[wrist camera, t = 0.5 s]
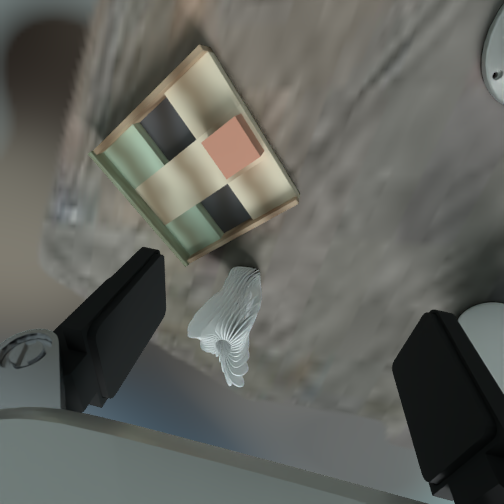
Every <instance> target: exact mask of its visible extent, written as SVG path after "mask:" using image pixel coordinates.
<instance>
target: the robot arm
mask: <svg viewBox="0 0 504 504" xmlns="http://www.w3.org/2000/svg"><path fill="white" fill-rule="evenodd" d="M494 72H495V73H496V75H495V77H493V78H492V75H493V73H494ZM482 75H483V79H484V83H485V85H486V87H487V89H488V91H489V93H490V94H491V95H492V96H493V97H494V98H495V99H496V100H497V101H498V102H499V103H501V104H503V105H504V4H503V5H502V7H501V8H500V9H499V11H498V13H497V15H496V17H495V18H494V20H493V22H492V24H491V26H490V28H489V31H488V34H487V37H486V40H485V43H484V47H483V53H482ZM165 312H166V293H165V265H164V256H163V255H160V251H159V250H156V249H151V248H147V247H142V248H141V249H140V250H139V251H137V252H136V253H135V254H134V255H133V256H132V257H131V258H130V259H129V260H128V261H127V262H126V263H125V264H124V265H123V266H122V267H121V268H120V269H119V270H118V271H117V272H116V273H115V274H114V275H113V276H112V277H110V278H109V279H107V280H106V281H105V282H104V283H103V284H102V285H101V286H100V287H99V288H98V289H97V290H96V291H95V292H94V293H93V294H91V295H90V296H89V297H88V298H87V299H86V300H85V301H84V302H83V303H82V304H81V305H80V306H79V307H78V308H77V309H76V310H75V311H74V312H73V313H72V314H71V315H70V316H69V317H68V318H67V319H66V320H65V321H64V322H63V323H61V324H60V325H59V326H58V327H57V328H56V329H55V330H54V331H53V332H52V331H49V330H46V329H33V330H27V331H24V332H21V333H18V334H16V335H14V336H12V337H10V338H8V339H7V340H5V341H4V342H3V343H1V344H0V504H427V503H423V502H420V501H416V500H412V499H409V498H405V497H401V496H398V495H394V494H390V493H387V492H383V491H379V490H376V489H372V488H368V487H364V486H361V485H358V484H354V483H350V482H346V481H343V480H339V479H335V478H332V477H328V476H324V475H321V474H317V473H313V472H309V471H306V470H302V469H298V468H295V467H291V466H287V465H284V464H280V463H276V462H272V461H269V460H265V459H261V458H257V457H253V456H250V455H246V454H242V453H239V452H235V451H231V450H227V449H224V448H220V447H216V446H212V445H208V444H205V443H200V442H197V441H193V440H189V439H185V438H182V437H178V436H174V435H170V434H166V433H163V432H159V431H155V430H151V429H147V428H144V427H140V426H136V425H131V424H127V423H123V422H119V421H115V420H111V419H106V418H103V417H98V416H94V415H90V414H85V413H82V412H84V410H85V409H86V408H87V406H88V405H89V404H90V405H93V406H97V407H101V408H102V407H103V405H104V403H105V402H106V400H107V399H108V398H110V399H111V398H113V397H114V396H115V394H116V393H117V391H118V390H119V388H120V387H121V385H122V383H123V381H124V380H125V379H126V377H127V375H128V374H129V372H130V371H131V369H132V367H133V366H134V364H135V362H136V361H137V359H138V357H139V356H140V355H141V353H142V351H143V350H144V348H145V347H146V345H147V343H148V342H149V340H150V339H151V337H152V335H153V334H154V332H155V331H156V329H157V327H158V326H159V324H160V323H161V321H162V319H163V318H164V315H165ZM392 371H393V375H394V379H395V382H396V385H397V389H398V392H399V396H400V399H401V403H402V406H403V410H404V413H405V417H406V420H407V424H408V427H409V431H410V434H411V438H412V441H413V445H414V448H415V452H416V455H417V459H418V462H419V466H420V469H421V473H422V475H423V477H424V479H425V480H426V481H427V482H429V485H430V488H431V492H432V495H433V496H436V497H439V498H443V499H447V500H451V501H453V500H454V502H455V504H504V394H503V392H502V391H501V389H500V387H499V386H498V384H497V383H496V381H495V379H494V378H493V376H492V375H491V373H490V371H489V370H488V368H487V367H486V365H485V363H484V362H483V360H482V359H481V357H480V355H479V354H478V352H477V351H476V349H475V347H474V346H473V344H472V343H471V341H470V339H469V338H468V336H467V335H466V333H465V331H464V330H463V328H462V327H461V325H460V323H459V322H458V320H457V319H456V317H455V316H454V315H453V314H451V313H448V312H443V311H438V310H431V311H430V312H429V313H424V315H423V316H422V317H421V319H420V321H419V322H418V324H417V325H416V327H415V329H414V330H413V332H412V333H411V335H410V336H409V338H408V340H407V341H406V343H405V344H404V346H403V348H402V349H401V351H400V352H399V354H398V355H397V357H396V359H395V360H394V362H393V366H392Z"/></svg>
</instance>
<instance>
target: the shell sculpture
mask: <svg viewBox="0 0 504 504" xmlns="http://www.w3.org/2000/svg"><path fill="white" fill-rule="evenodd" d="M255 270H256V268H255V269H253V268H250V267H242V266H241V267H239V266H237V267H233V268H232V269H231V270H230V272H229V275H228V277H227V278H226V280H225V283H224V286H223V287H222V289H221V290H220V291H218V292H217V293H216V294H215V295H214V296H212V297H211V298H210V299H209V300H208V301H207V302H206V303H205V304H204V305H203V306H202V308H201V309H199V310H198V311H197V313H196V314H195V315H194V317H193V320H192V321H191V322H190V323H189V325H188V337H190V338H198V339H199V340H200V346H201V348H202V350H204V351H205V352H211V353H212V354H215V353H216V357H218V355H219V352H220V357H219V362H220V360H221V366H222V372H224V374H225V378H226V381H227V383H228V385H229V386H231V385H232V383H233V384H234V385H235V386H237V387H242V386H243V385H244V379H243V376H242V375H244V374H245V373H247V371H248V369H249V368H248V364H247V362H246V361H247V360H248V359H249V351H248V348H249V332H250V330H251V328H252V326H253V324H254V322H255V320H256V317H257V313H258V312H259V311H260V305H261V300H262V289H261V282H260V281H261V277H260V276H261V275H258V274H260V273H256V272H257V271H259V270H257V271H255ZM254 271H255V272H254ZM253 272H254V273H256V274H254V273H253ZM250 274H251V275H252V274H253V275H252V276H251V275H250ZM249 275H250V276H251V277H252V278H251V277H250V276H249ZM249 277H250V278H249ZM248 279H249V280H248ZM247 280H248V281H247ZM246 282H247V283H246ZM250 295H251V296H250ZM245 311H246V312H245ZM245 315H246V319H245V320H244V316H245ZM242 321H243V322H242ZM223 341H224V343H223ZM222 345H223V348H222ZM221 350H222V354H221Z"/></svg>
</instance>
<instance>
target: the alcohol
mask: <svg viewBox="0 0 504 504" xmlns="http://www.w3.org/2000/svg"><path fill="white" fill-rule="evenodd" d="M458 322H459V323H460V325H461V327H462V328H463V330H464V331H465V333H466V335H467V336H468V338H469V339H470V341H471V343H472V344H473V346H474V347H475V349H476V351H477V352H478V354H479V355H480V357H481V359H482V360H483V362H484V363H485V365H486V367H487V368H488V370H489V371H490V373H491V375H492V376H493V378H494V379H495V381H496V383H497V384H498V386H499V387H500V389H501V391H502V392H503V394H504V304H503V303H497V302H488V303H482V304H478V305H475V306H473V307H471V308H469V309H467V310H466V311H464V312H463V313H462V314H461V315H460V317H459V318H458Z"/></svg>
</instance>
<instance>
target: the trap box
mask: <svg viewBox="0 0 504 504" xmlns="http://www.w3.org/2000/svg"><path fill="white" fill-rule="evenodd" d="M239 114H242V116H243V117H244V119H245V121H246V122H247V124H248V125H249V127H250V129H251V130H252V132H253V133H254V135H255V137H256V138H257V140H258V141H259V143H260V145H261V146H262V148H263V149H264V152H263V154H262V155H261V157H259V158H258V159H256V160H255V161H253V162H252V163H250V164H249V165H247V166H246V167H244V168H243V169H241V170H240V171H239V172H237V173H236V174H234V175H233V176H231V177H230V178H228V179H226V178H225V176H224V175H223V174H222V172H221V171H220V169H219V168H218V166H217V165H216V164H215V162H214V161H213V159H212V158H211V157H210V155H209V154H208V152H207V151H206V149H205V148H204V147H203V145H202V144H201V142H203V141H204V140H205V139H207V138H208V137H209V136H210V135H212V134H213V133H214V132H215V131H217V130H218V129H219V128H220V127H222V126H223V125H224V124H226V123H227V122H228V121H229V120H231V119H232V118H233V117H234V116H236V115H239ZM88 155H89V156H90V157H91V158H92V159H93V161H94V162H95V163H96V164H97V165H98V166H99V168H100V169H101V170H102V171H103V172H104V173H105V175H106V176H107V177H108V178H109V179H110V180H111V181H112V183H113V184H114V185H115V186H116V187H117V188H118V190H119V191H120V192H121V193H122V194H123V195H124V196H125V198H126V199H127V200H128V201H129V202H130V203H131V205H132V206H133V207H134V208H135V209H136V210H137V211H138V213H139V214H140V215H141V216H142V217H143V218H144V220H145V221H146V222H147V223H148V224H149V225H150V227H151V228H152V229H153V230H154V231H155V232H156V233H157V235H158V236H159V237H160V238H161V239H162V240H163V242H164V243H165V244H166V245H167V246H168V247H169V248H170V250H171V251H172V252H173V253H174V254H175V255H176V257H177V258H178V259H179V260H180V261H181V262H182V263H183V265H184V266H185V267H186V266H188V265H189V263H191V262H193V261H195V260H197V259H199V258H200V257H202V256H204V255H206V254H208V253H209V252H211V251H213V250H215V249H217V248H219V247H220V246H222V245H224V244H226V243H228V242H229V241H231V240H233V239H235V238H237V237H239V236H240V235H242V234H244V233H246V232H248V231H250V230H251V229H253V228H255V227H257V226H259V225H260V224H262V223H264V222H266V221H268V220H270V219H271V218H273V217H275V216H277V215H279V214H280V213H282V212H284V211H286V210H288V209H290V208H291V207H293V206H295V205H297V204H299V197H300V194H299V192H298V190H297V189H296V187H295V185H294V184H293V182H292V180H291V179H290V177H289V176H288V174H287V172H286V171H285V169H284V167H283V166H282V164H281V162H280V161H279V159H278V158H277V156H276V154H275V153H274V151H273V149H272V148H271V146H270V144H269V143H268V141H267V140H266V138H265V136H264V135H263V133H262V131H261V130H260V128H259V126H258V125H257V123H256V122H255V120H254V118H253V117H252V115H251V113H250V112H249V110H248V108H247V107H246V105H245V104H244V102H243V100H242V99H241V97H240V95H239V94H238V92H237V91H236V89H235V87H234V86H233V84H232V82H231V81H230V79H229V77H228V76H227V74H226V73H225V71H224V69H223V68H222V66H221V64H220V63H219V61H218V59H217V58H216V56H215V55H214V53H213V51H212V50H211V48H210V47H207V46H203V45H200V44H199V45H198V46H197V47H196V48H195V49H194V50H193V51H192V52H191V53H190V54H189V55H188V56H187V57H186V58H185V59H184V60H183V61H182V62H181V63H180V64H179V65H178V66H177V67H176V68H175V69H174V70H173V71H172V72H171V73H170V74H169V75H168V76H167V77H166V78H165V79H164V80H163V81H162V82H161V83H160V84H159V85H158V86H157V87H156V88H155V89H154V90H153V91H152V92H151V93H150V94H149V95H148V96H147V97H146V98H145V99H144V100H143V101H142V102H141V103H140V104H139V105H138V106H137V107H136V108H135V109H134V110H133V111H132V112H131V113H130V114H129V115H128V116H127V117H126V118H125V119H124V120H123V121H122V122H121V123H120V124H119V125H118V126H117V127H116V128H115V129H114V130H113V131H112V132H111V133H110V134H109V135H108V136H107V137H106V138H105V139H104V140H103V141H102V142H101V143H100V144H99V145H98V146H97V147H96V148H95V149H94V150H93V151H91V152H90V153H89V154H88Z"/></svg>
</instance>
